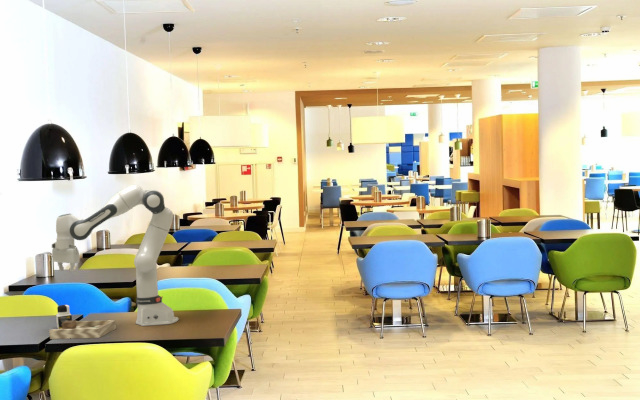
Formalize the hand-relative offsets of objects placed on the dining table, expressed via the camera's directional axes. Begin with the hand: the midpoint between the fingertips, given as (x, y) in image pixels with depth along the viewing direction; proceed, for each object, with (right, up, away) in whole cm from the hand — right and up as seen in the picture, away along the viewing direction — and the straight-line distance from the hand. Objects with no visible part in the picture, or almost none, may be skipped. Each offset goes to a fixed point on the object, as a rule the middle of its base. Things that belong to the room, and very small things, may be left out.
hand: (66, 271), depth 380 cm
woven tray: (+12, -31, -10) cm, 35 cm away
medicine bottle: (-4, -31, +10) cm, 33 cm away
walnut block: (+5, -29, -9) cm, 31 cm away
